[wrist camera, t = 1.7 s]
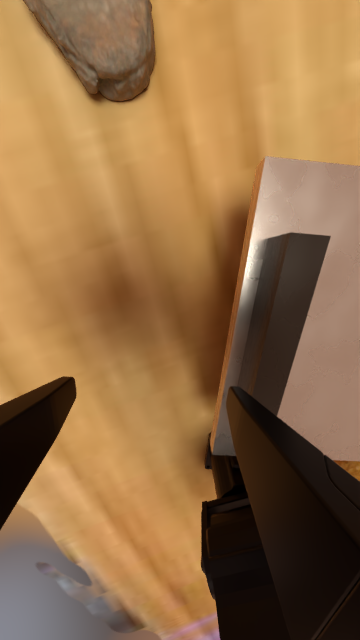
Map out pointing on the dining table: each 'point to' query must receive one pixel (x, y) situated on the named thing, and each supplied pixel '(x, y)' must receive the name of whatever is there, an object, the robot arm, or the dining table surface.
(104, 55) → the elongated rock
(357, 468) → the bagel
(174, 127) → the dining table surface
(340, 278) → the lid
